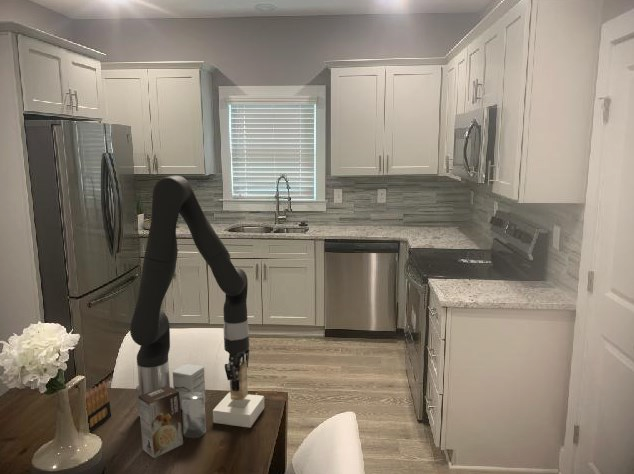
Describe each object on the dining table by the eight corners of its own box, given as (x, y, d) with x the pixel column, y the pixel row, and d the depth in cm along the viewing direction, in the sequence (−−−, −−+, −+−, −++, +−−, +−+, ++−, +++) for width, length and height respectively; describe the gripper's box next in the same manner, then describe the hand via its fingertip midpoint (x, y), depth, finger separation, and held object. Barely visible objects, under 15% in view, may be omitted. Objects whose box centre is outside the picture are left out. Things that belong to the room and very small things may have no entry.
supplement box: (173, 408, 160) (171, 371, 158) (187, 398, 167) (185, 362, 165) (193, 413, 157) (190, 375, 155) (206, 402, 164) (204, 365, 162)
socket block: (213, 422, 151) (212, 410, 151) (229, 403, 163) (229, 392, 162) (250, 427, 148) (250, 415, 148) (264, 407, 160) (264, 396, 159)
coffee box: (171, 436, 144) (168, 384, 142) (183, 444, 140) (180, 391, 137) (141, 449, 138) (137, 395, 135) (153, 459, 133) (149, 403, 131)
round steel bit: (179, 436, 144) (177, 401, 142) (190, 425, 150) (188, 390, 148) (199, 439, 142) (197, 403, 141) (209, 427, 149) (208, 393, 147)
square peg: (230, 399, 153) (229, 365, 151) (236, 393, 157) (234, 360, 155) (242, 400, 152) (241, 366, 150) (247, 394, 156) (246, 361, 154)
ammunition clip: (86, 434, 146) (83, 396, 144) (81, 433, 146) (77, 395, 144) (111, 416, 156) (108, 380, 154) (106, 415, 156) (103, 379, 154)
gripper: (234, 325, 159) (236, 376, 162) (214, 341, 145) (217, 396, 148) (256, 327, 157) (258, 378, 160) (238, 343, 143) (240, 399, 146)
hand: (238, 387), depth 154 cm, fingers closed on square peg, 4 cm apart
